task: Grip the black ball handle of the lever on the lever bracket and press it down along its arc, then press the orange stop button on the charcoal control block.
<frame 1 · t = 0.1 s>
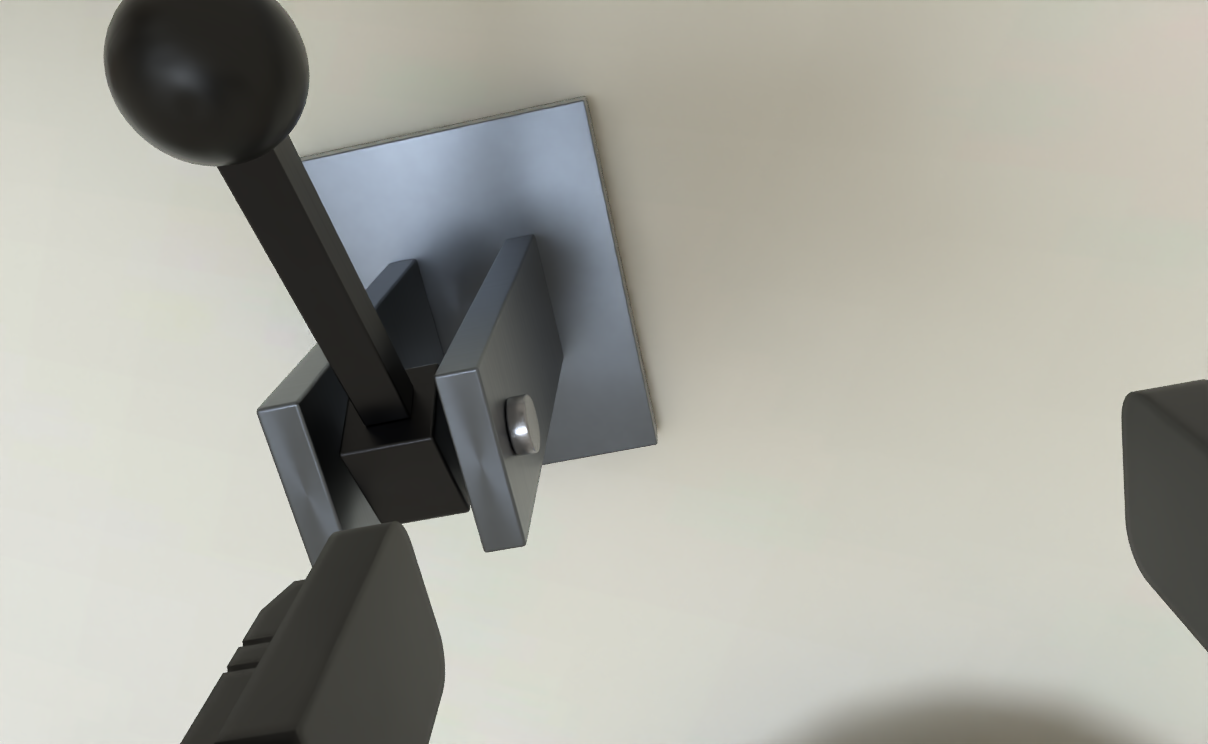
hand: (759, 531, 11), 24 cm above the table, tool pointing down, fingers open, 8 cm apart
lever bracket: (482, 300, 35), on the table
press lever: (325, 285, 20), point 14 cm above the table, hinge at 25.0°
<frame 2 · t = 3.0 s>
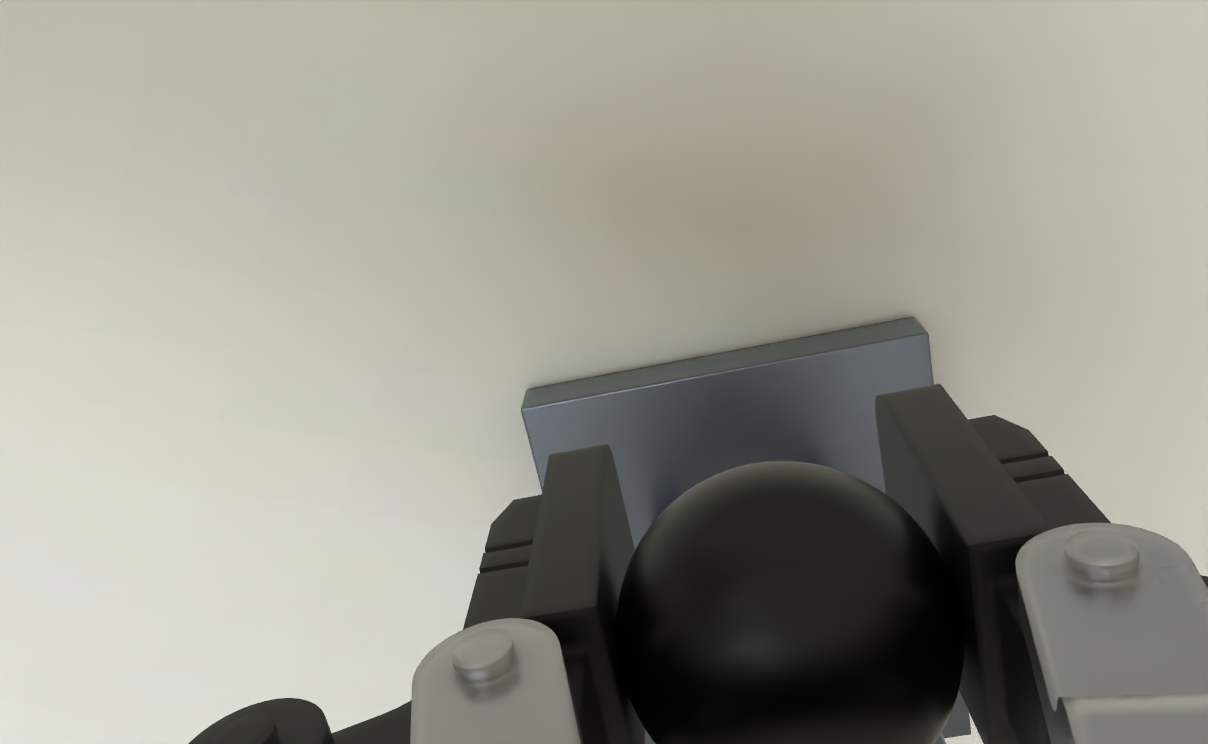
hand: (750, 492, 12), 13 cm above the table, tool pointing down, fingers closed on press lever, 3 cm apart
lever bracket: (753, 555, 28), on the table
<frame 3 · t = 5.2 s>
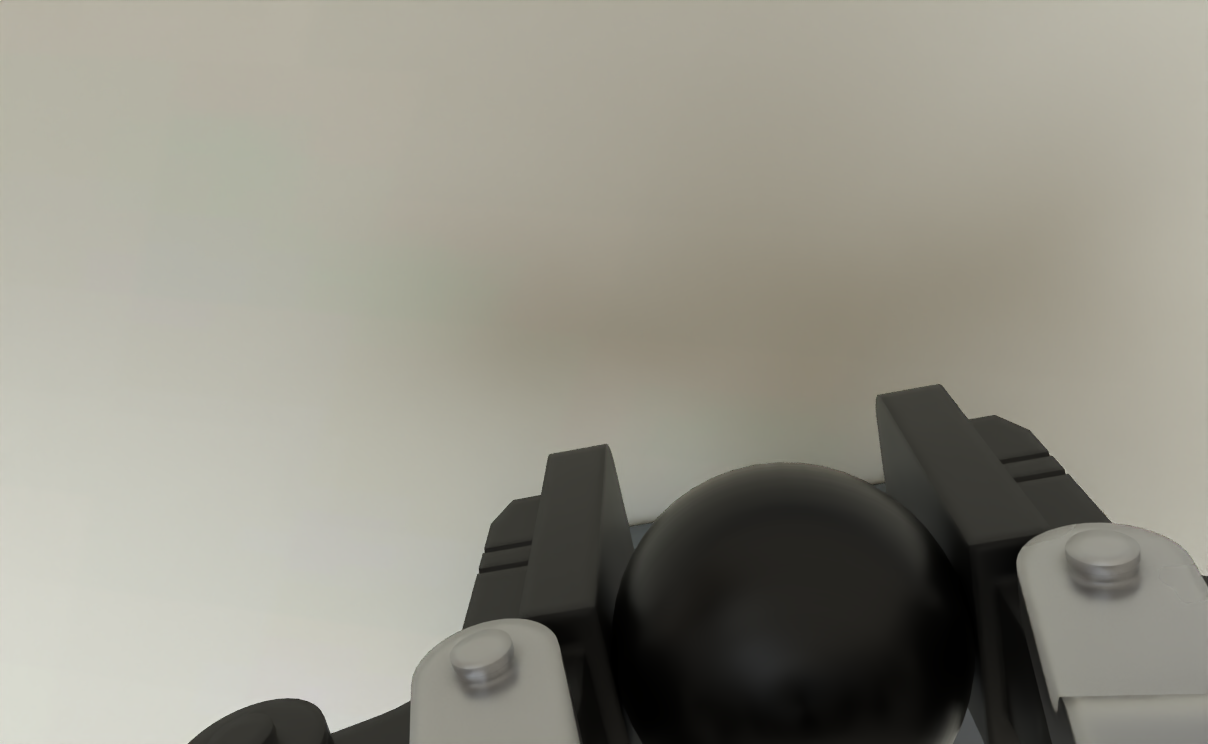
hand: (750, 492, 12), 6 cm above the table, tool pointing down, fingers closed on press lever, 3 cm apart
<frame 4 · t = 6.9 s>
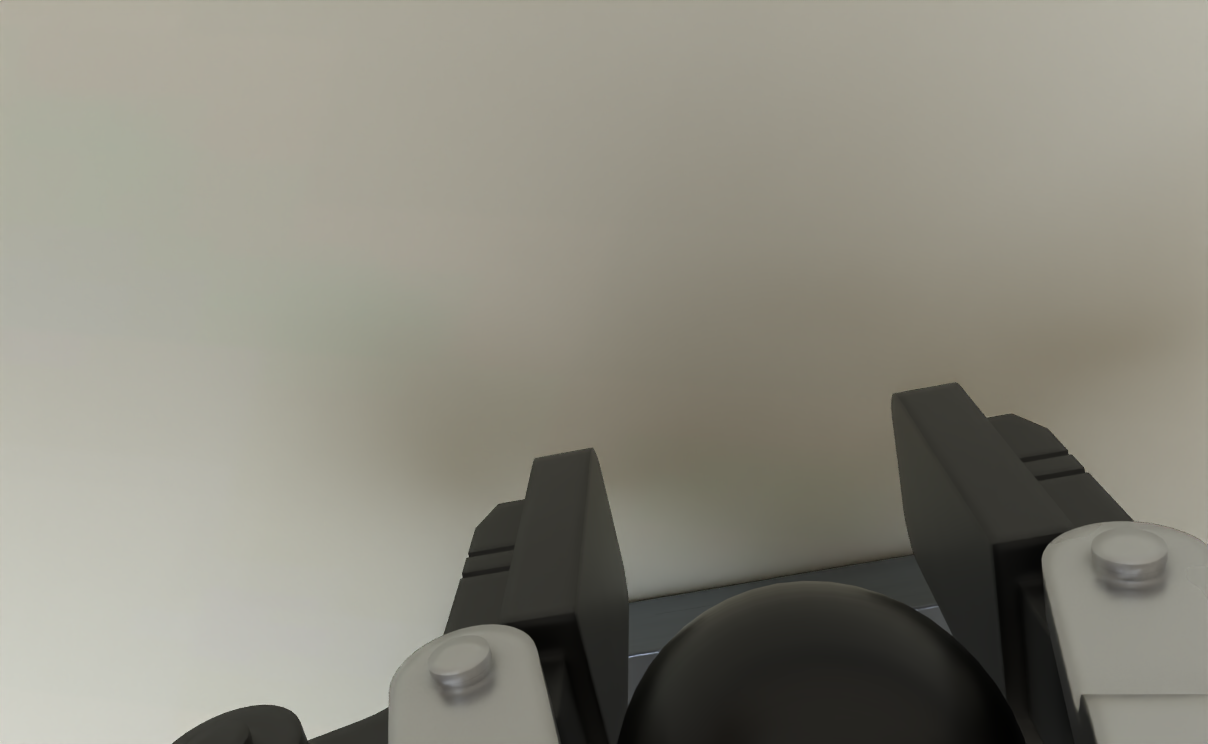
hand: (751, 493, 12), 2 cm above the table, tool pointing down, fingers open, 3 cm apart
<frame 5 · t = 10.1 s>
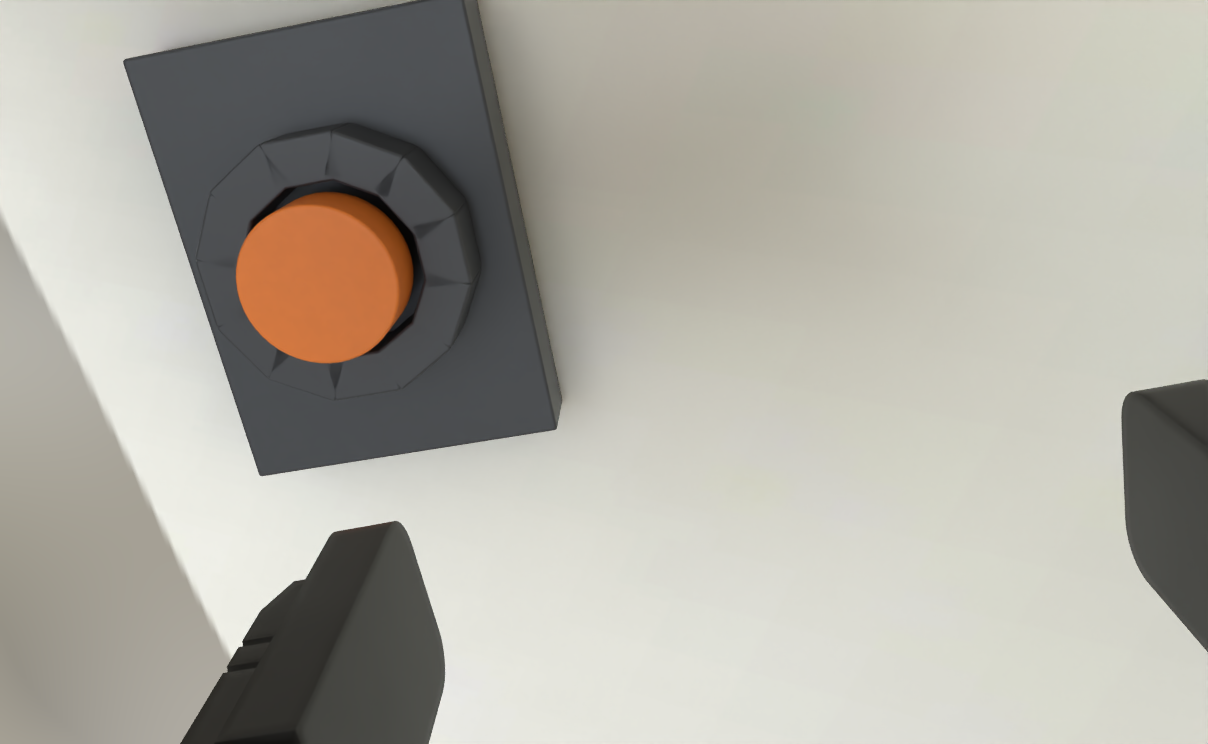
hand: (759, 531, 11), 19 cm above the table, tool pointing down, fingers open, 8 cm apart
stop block: (371, 238, 30), on the table
stop button: (327, 277, 25), point 4 cm above the table, slide at 0.1 cm
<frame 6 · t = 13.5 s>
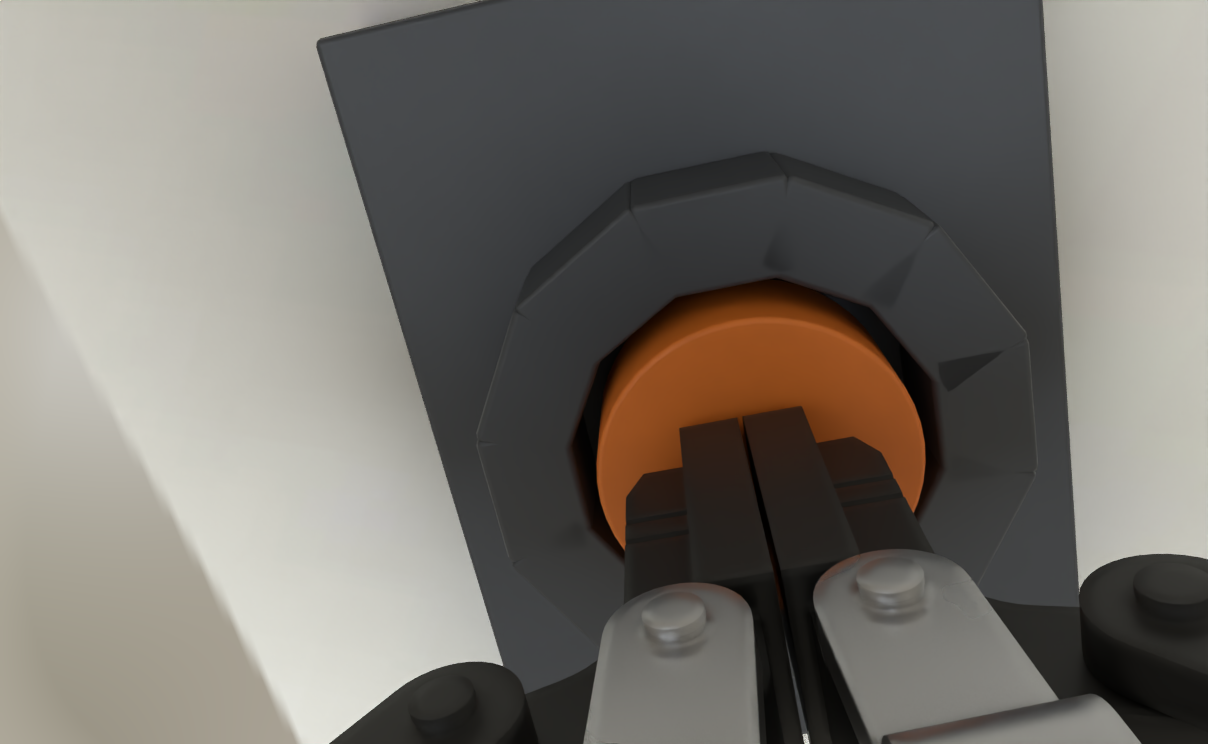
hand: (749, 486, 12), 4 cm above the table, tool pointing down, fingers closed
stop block: (729, 350, 16), on the table
stop button: (752, 444, 13), point 4 cm above the table, slide at -0.8 cm, touching gripper
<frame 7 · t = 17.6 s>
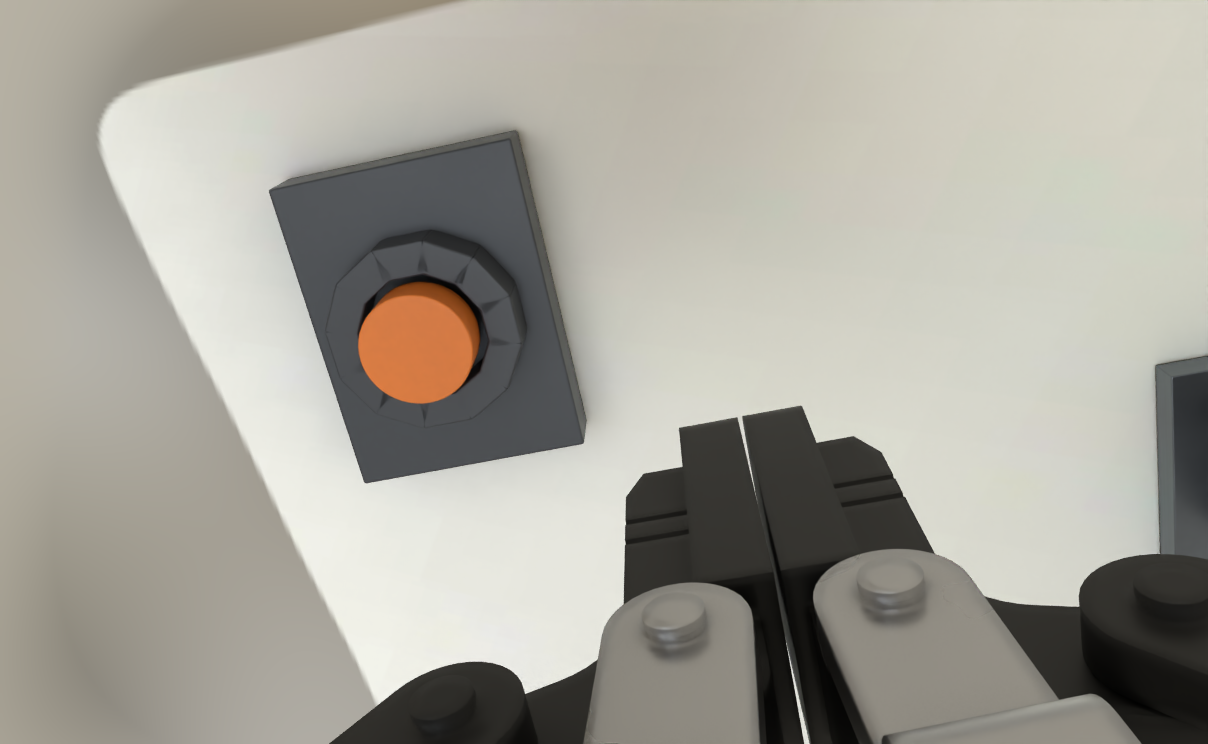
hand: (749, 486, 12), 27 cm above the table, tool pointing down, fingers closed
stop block: (443, 305, 40), on the table
stop button: (420, 342, 36), point 4 cm above the table, slide at 0.1 cm
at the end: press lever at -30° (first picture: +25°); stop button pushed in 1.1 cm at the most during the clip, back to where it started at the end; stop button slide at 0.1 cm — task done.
